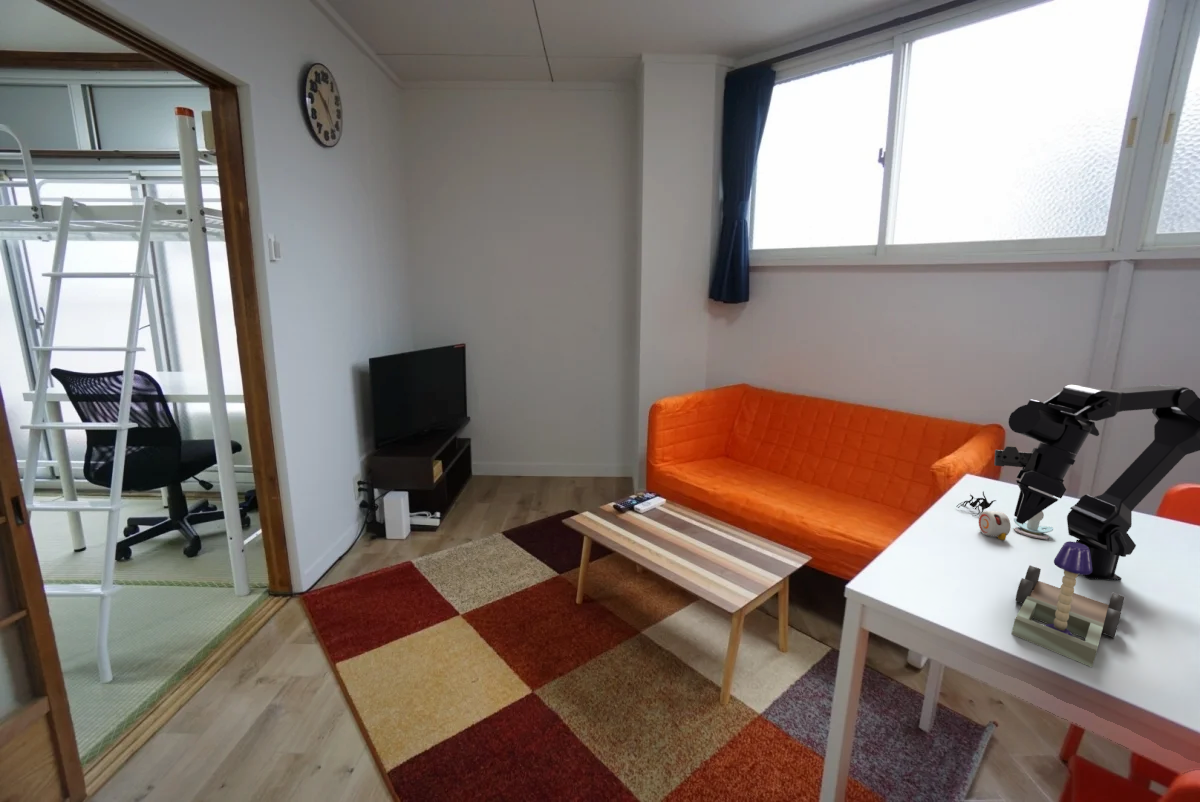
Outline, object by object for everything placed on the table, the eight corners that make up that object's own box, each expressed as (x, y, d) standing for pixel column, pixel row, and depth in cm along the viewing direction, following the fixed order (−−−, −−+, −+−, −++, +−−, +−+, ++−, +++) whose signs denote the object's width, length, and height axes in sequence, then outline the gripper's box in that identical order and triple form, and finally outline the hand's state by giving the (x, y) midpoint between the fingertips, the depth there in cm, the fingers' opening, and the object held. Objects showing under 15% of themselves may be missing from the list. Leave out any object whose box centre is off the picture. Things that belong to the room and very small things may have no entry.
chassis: (1026, 582, 102) (1031, 562, 101) (1119, 614, 93) (1125, 592, 92) (999, 629, 88) (1005, 606, 87) (1106, 673, 78) (1113, 648, 77)
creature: (964, 520, 132) (999, 517, 130) (963, 500, 131) (998, 497, 129) (950, 507, 140) (983, 504, 138) (948, 489, 139) (982, 485, 137)
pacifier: (1050, 544, 119) (1051, 534, 123) (1056, 519, 117) (1057, 510, 122) (1010, 533, 123) (1012, 524, 128) (1015, 509, 122) (1017, 501, 126)
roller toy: (994, 529, 125) (999, 507, 123) (1011, 542, 118) (1017, 519, 117) (974, 528, 125) (979, 506, 124) (991, 541, 119) (996, 518, 118)
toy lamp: (1031, 630, 88) (1053, 541, 84) (1045, 623, 90) (1067, 536, 86) (1065, 648, 83) (1090, 555, 80) (1080, 640, 85) (1105, 549, 82)
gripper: (1007, 431, 111) (972, 495, 114) (1010, 430, 96) (970, 504, 99) (1071, 454, 105) (1033, 521, 108) (1085, 457, 90) (1040, 535, 93)
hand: (1017, 519), depth 102 cm, fingers open, 9 cm apart
